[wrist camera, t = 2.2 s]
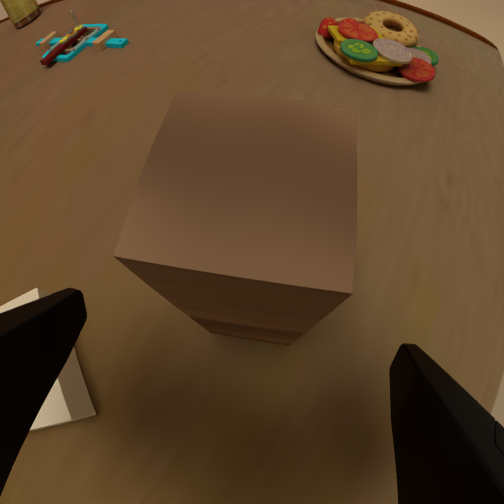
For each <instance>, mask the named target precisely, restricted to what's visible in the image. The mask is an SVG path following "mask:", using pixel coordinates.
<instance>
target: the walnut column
mask: <svg viewBox="0 0 504 504" xmlns="http://www.w3.org/2000/svg"><path fill="white" fill-rule="evenodd" d="M356 227H357V142H356V118H355V110H350V109H345V108H340V107H334V106H328V105H322V104H316V103H310V102H303V101H296V100H288V99H280V98H271V97H261V96H250V95H237V94H221V93H196V92H176V94H175V96H174V98H173V100H172V103H171V105H170V107H169V109H168V111H167V113H166V116H165V118H164V120H163V122H162V125H161V127H160V129H159V131H158V134H157V136H156V139H155V141H154V143H153V146H152V148H151V151H150V153H149V156H148V158H147V161H146V163H145V166H144V168H143V171H142V173H141V176H140V179H139V181H138V184H137V187H136V189H135V192H134V195H133V198H132V201H131V203H130V206H129V209H128V212H127V215H126V218H125V221H124V224H123V227H122V230H121V233H120V237H119V240H118V243H117V246H116V250H115V253H114V257H115V258H116V259H118V260H119V261H120V262H121V263H122V264H123V265H125V266H126V267H127V268H128V269H129V270H131V271H132V272H133V273H134V274H135V275H137V276H138V277H139V278H140V279H142V280H143V281H144V282H145V283H147V284H148V285H149V286H150V287H152V288H153V289H154V290H155V291H157V292H158V293H159V294H160V295H162V296H163V297H164V298H165V299H167V300H168V301H169V302H171V303H172V304H173V305H174V306H176V307H177V308H178V309H180V310H181V311H182V312H184V313H185V314H186V315H188V316H189V317H190V318H192V319H193V320H194V321H196V322H197V323H198V324H200V325H201V326H202V327H204V328H205V329H206V330H208V331H209V332H210V333H215V334H221V335H227V336H232V337H238V338H244V339H250V340H257V341H263V342H270V343H277V344H284V345H290V344H291V343H292V342H294V341H295V340H296V339H297V338H299V337H300V336H301V335H303V334H304V333H305V332H306V331H308V330H309V329H310V328H311V327H313V326H314V325H315V324H317V323H318V322H319V321H320V320H321V319H323V318H324V317H325V316H326V315H328V314H329V313H330V312H331V311H333V310H334V309H335V308H336V307H337V306H339V305H340V304H341V303H342V302H343V301H345V300H346V299H347V298H348V297H349V296H350V295H352V294H353V284H354V269H355V252H356Z"/></svg>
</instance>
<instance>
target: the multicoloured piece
mask: <svg viewBox="0 0 504 504" xmlns="http://www.w3.org/2000/svg"><path fill="white" fill-rule="evenodd" d="M70 12H71V15H72V17H73V19H74V22H75V24H76V28H75V29H73V30H70V31H69V32H68V33H67V35H65V36H64V37H63V38H60V36H59V34H58V32H57V31H56V32H52V33H50V34H49V35H48V36H47V37H46V38H44V39H40V40H39V41H38V42H37V43H36V45H37V46H41V48H42V49H47V48H48V47H50V46H52V47H51V48H50V49H49V50H48V52H46V53H45V54H44V55H43V59H42V60H41V61H40V62H41V64H42V65H49V64H50V63H51V62H52V61H60V62H68V61H70V60H72V59H73V58H74V57H75V56H76V55H77V54H78V53H80V52H81V51H82V50H83V49H84V48H85V47H87V46H93V47H94V49H95V51H103V50H104V49H105V48H106V47H111V48H123V47H124V46H126V45H127V44H128V43H129V42H128V39H121V38H117V35H116V32H115V30H107V29H108V26H107V24H85V25H79V24H78V21H77V19H76V16H75V14H74V11H73V10H71V11H70ZM106 30H107V31H106ZM105 31H106V32H105ZM86 32H92V33H91V34H89V35H87V33H86ZM104 32H105V33H104ZM102 33H103V34H102ZM101 34H102V35H101ZM100 35H101V36H100ZM99 36H100V37H99ZM97 37H98V38H97ZM74 43H76V44H78V43H79V44H78V45H76V46H75V47H74V48H73V46H72V44H74ZM59 54H68V55H59Z"/></svg>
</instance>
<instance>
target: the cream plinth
mask: <svg viewBox="0 0 504 504" xmlns="http://www.w3.org/2000/svg"><path fill="white" fill-rule="evenodd" d="M48 295H50V293H48V292H46V291H44V290H42V289H39V288H35V289H33V290H31V291H29V292H27V293H25V294H23V295H21V296H19V297H18V298H16V299H14V300H12V301H10V302H8V303H6V304H4V305H2V306H0V313H2V312H5V311H7V310H10V309H13V308H15V307H18V306H21V305H23V304H26V303H29V302H31V301H34V300H37V299H40V298H42V297H45V296H48ZM94 415H96V412H95V410H94V407H93V404H92V401H91V399H90V396H89V393H88V390H87V387H86V384H85V381H84V378H83V375H82V372H81V369H80V366H79V362H78V359H77V355H76V352H75V348H74V347H73V349H72V352H71V354H70V356H69V358H68V360H67V362H66V364H65V365H64V367H63V369H62V371H61V372H60V374H59V376H58V378H57V380H56V381H55V383H54V385H53V387H52V389H51V390H50V392H49V394H48V396H47V398H46V400H45V401H44V403H43V405H42V407H41V409H40V411H39V413H38V415H37V417H36V419H35V421H34V423H33V425H32V427H31V429H30V431H34V430H38V429H43V428H47V427H51V426H56V425H60V424H64V423H68V422H71V421H75V420H79V419H83V418H87V417H90V416H94Z"/></svg>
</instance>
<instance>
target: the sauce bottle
mask: <svg viewBox="0 0 504 504" xmlns="http://www.w3.org/2000/svg"><path fill="white" fill-rule="evenodd" d="M0 1H1V3H2V5H3V7H4V9H5V11H6V12H7V14H8V16H9V18H10V20H11V21H12V23H13V24H14V25H15V27H16V28H21V27H23V26H25V25H27V24H28V23H30V22H31V21H32V20H34V19H35V18H36V17H37V16H38V15H39V14H40V10H39V8H38V4H37V2H36V0H0Z"/></svg>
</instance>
